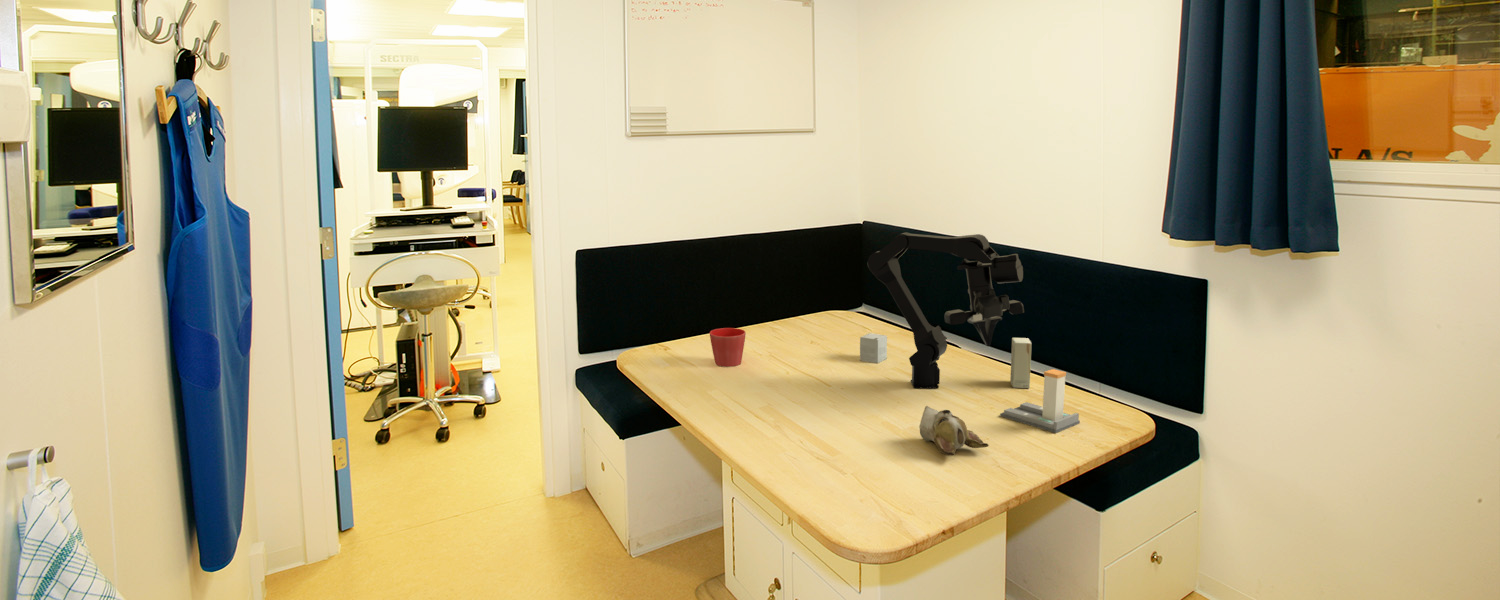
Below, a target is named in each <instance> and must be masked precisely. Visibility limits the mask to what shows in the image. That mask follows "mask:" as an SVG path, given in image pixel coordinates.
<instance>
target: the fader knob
mask: <svg viewBox="0 0 1500 600" xmlns="http://www.w3.org/2000/svg"><path fill="white" fill-rule="evenodd" d="M1043 376H1044V377H1043V378H1044V380H1043V395H1042V396H1043V398H1042V407H1043V413H1042V417H1043V418H1046V419H1050V420H1053V421H1056V420H1059V419H1061V418H1063V413H1064V405H1065V403H1064V402H1065V389H1066V388H1065V387H1066V376H1067V372H1066V371H1064V370H1063V371H1062V370H1057V369H1054V368H1051V369H1049V370H1046V371H1043Z"/></svg>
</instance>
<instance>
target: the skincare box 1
mask: <svg viewBox="0 0 1500 600" xmlns="http://www.w3.org/2000/svg"><path fill="white" fill-rule="evenodd" d="M859 341H860V342H859V361H861V362H865V363H873V364H880V363H881V362H883V361H885V360H886V359H887V358H888V357H887V356H888V355H887V354H888V353H887V352H888V348H887V347H888V335H886V334H878V333H872V332H869V333H866V334H865V335H862V336H860V337H859Z"/></svg>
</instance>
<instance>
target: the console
mask: <svg viewBox="0 0 1500 600" xmlns="http://www.w3.org/2000/svg"><path fill="white" fill-rule="evenodd" d="M1042 413H1043V405H1038V404H1034V403H1031V402H1027V401H1025V402H1023V403H1020V405H1019V406H1017V407H1014V408H1012V407H1009V408H1006V409H1004V410H1003V412H1001V413H1000V414H999V416H1000V417H1002V418H1005V419H1009V420H1012V421H1014V422H1018V423H1021V424H1024V425H1027V426H1031V427H1034V428H1037V429H1041V430H1043V431H1048V432H1051V433H1053V434H1054V433H1055V434H1058V433H1059V432H1062V431H1065V430H1067V429H1069V428H1071V427H1074V426H1076V425H1079V424H1080V423H1081V421H1080V420H1079V417H1080V414H1079V413H1078V412H1075V413H1072V414H1070V413H1066V412H1063V418H1061V419H1059V420H1056V421H1053V420H1050V419H1046V418H1043V417H1042Z"/></svg>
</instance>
